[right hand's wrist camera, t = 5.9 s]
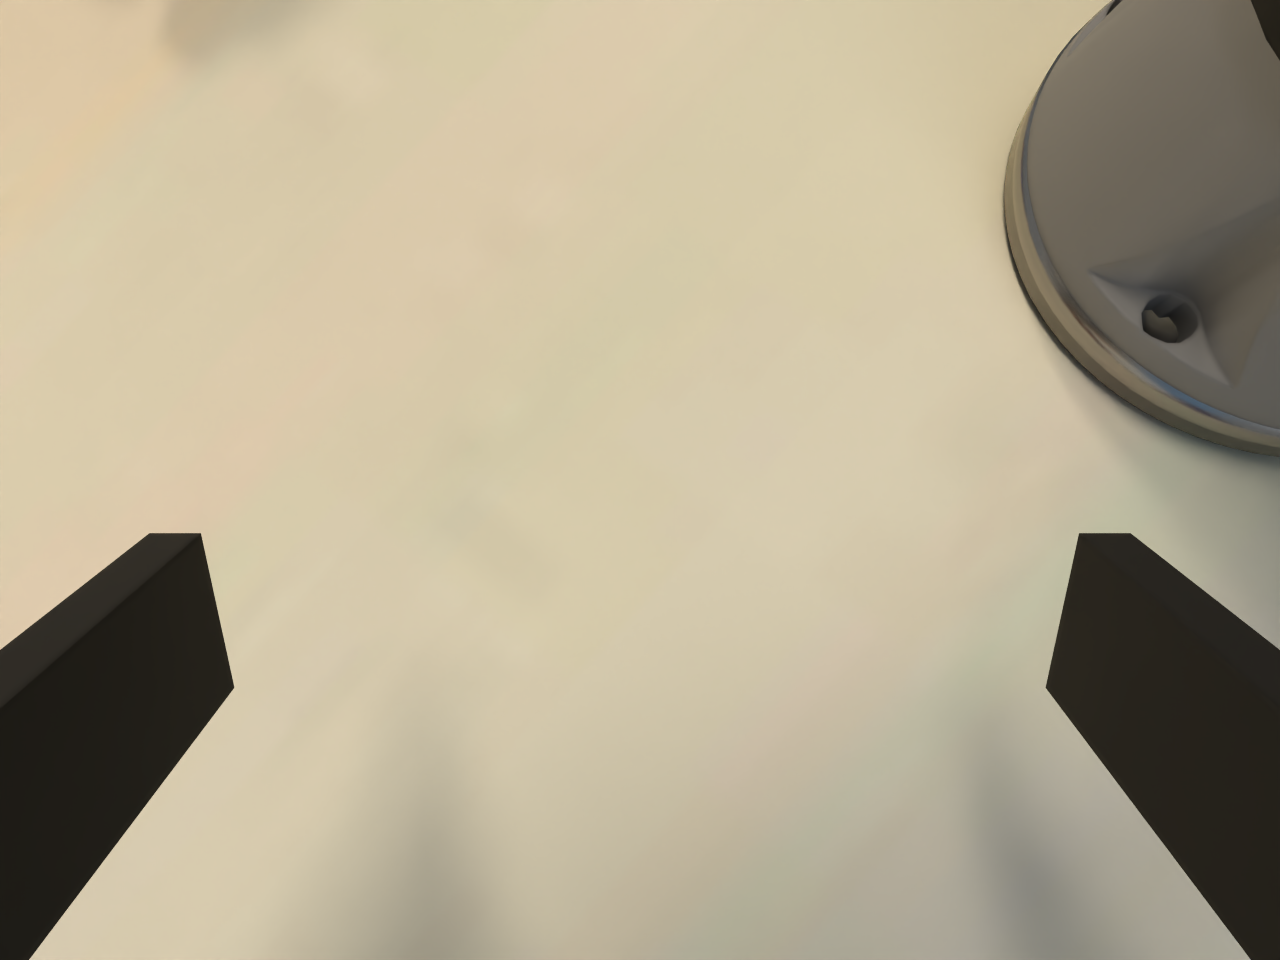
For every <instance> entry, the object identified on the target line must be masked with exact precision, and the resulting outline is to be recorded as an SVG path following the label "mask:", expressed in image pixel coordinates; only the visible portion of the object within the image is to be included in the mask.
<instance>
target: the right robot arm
mask: <svg viewBox="0 0 1280 960" xmlns="http://www.w3.org/2000/svg"><path fill="white" fill-rule="evenodd" d="M1004 199H1005V218H1006V225H1007V233H1008V237H1009V241H1010V246H1011V250H1012V254H1013V257H1014V260H1015V263H1016V265H1017V268H1018V271H1019V274H1020V276H1021V279H1022V281H1023V283H1024V285H1025V287H1026V289H1027V291H1028V293H1029V295H1030V298H1031V300H1032V301H1033V303H1034V305H1035V306H1036V308H1037V309H1038V311H1039V313H1040V314H1041V316H1042V318H1043V319H1044V321H1045V322H1046V324H1047V325H1048V326H1049V328H1050V329H1051V330H1052V332H1053V333H1054V334H1055V336H1056V337H1057V338H1058V339H1059V341H1060V342H1061V343H1062V344H1063V345H1064V346H1065V348H1066V349H1067V350H1068V351H1069V352H1070V353H1071V354H1072V355H1073V356H1074V357H1075V359H1076V360H1077V361H1078V362H1079V363H1080V364H1081V365H1083V366H1084V367H1085V368H1086V369H1087V370H1088V371H1089V372H1090V373H1091V374H1092V375H1093V376H1095V377H1096V378H1097V379H1098V380H1099V381H1100V382H1102V383H1103V384H1104V385H1106V386H1107V387H1108V388H1110V389H1111V390H1112V391H1113V392H1115V393H1116V394H1117V395H1119V396H1120V397H1121V398H1123V399H1125V400H1126V401H1128V402H1129V403H1131V404H1132V405H1134V406H1136V407H1137V408H1139V409H1140V410H1142V411H1143V412H1145V413H1147V414H1149V415H1151V416H1153V417H1155V418H1156V419H1158V420H1160V421H1162V422H1164V423H1166V424H1168V425H1170V426H1172V427H1174V428H1177V429H1179V430H1182V431H1184V432H1186V433H1189V434H1191V435H1193V436H1196V437H1199V438H1202V439H1205V440H1208V441H1211V442H1214V443H1217V444H1220V445H1223V446H1226V447H1231V448H1235V449H1239V450H1243V451H1247V452H1252V453H1257V454H1264V455H1271V456H1277V457H1280V0H1112V1H1111V2H1109V3H1108V4H1107V5H1106V6H1105V7H1103V8H1102V9H1101V10H1100V11H1099V12H1098V13H1097V14H1096V15H1095V16H1093V18H1092V19H1091V20H1089V21H1088V22H1087V23H1086V24H1085V25H1084V26H1083V27H1082V28H1081V29H1080V30H1079V31H1078V32H1077V33H1076V34H1075V35H1074V36H1073V38H1072V39H1071V40H1070V41H1069V43H1068V44H1067V45H1066V46H1065V48H1064V49H1063V50H1062V51H1061V53H1060V54H1059V55H1058V57H1057V58H1056V60H1055V62H1054V63H1053V65H1052V66H1051V68H1050V69H1049V71H1048V73H1047V74H1046V76H1045V78H1044V80H1043V82H1042V83H1041V85H1040V87H1039V89H1038V91H1037V92H1036V94H1035V96H1034V98H1033V99H1032V101H1031V103H1030V105H1029V107H1028V108H1027V110H1026V112H1025V114H1024V116H1023V119H1022V121H1021V123H1020V125H1019V127H1018V129H1017V132H1016V135H1015V138H1014V141H1013V144H1012V147H1011V150H1010V155H1009V159H1008V164H1007V169H1006V178H1005V189H1004ZM233 689H234V684H233V679H232V675H231V670H230V666H229V661H228V656H227V652H226V647H225V643H224V638H223V633H222V629H221V624H220V620H219V615H218V610H217V606H216V601H215V597H214V592H213V587H212V583H211V578H210V574H209V569H208V564H207V560H206V555H205V551H204V546H203V541H202V537H201V533H149V534H148V535H147V536H146V537H144V538H143V539H142V540H140V541H139V542H138V543H137V544H135V545H134V546H133V547H131V548H130V549H129V550H128V551H126V552H125V553H124V554H122V555H121V556H120V557H119V558H117V559H116V560H115V561H114V562H112V563H111V564H110V565H108V566H107V567H106V568H105V569H103V570H102V571H101V572H99V573H98V574H97V575H96V576H94V577H93V578H92V579H90V580H89V581H88V582H87V583H85V584H84V585H83V586H82V587H80V588H79V589H78V590H76V591H75V592H74V593H73V594H71V595H70V596H69V597H67V598H66V599H65V600H64V601H62V602H61V603H60V604H59V605H57V606H56V607H55V608H53V609H52V610H51V611H50V612H48V613H47V614H46V615H44V616H43V617H42V618H41V619H39V620H38V621H37V622H35V623H34V624H33V625H32V626H30V627H29V628H28V629H27V630H25V631H24V632H23V633H21V634H20V635H19V636H18V637H16V638H15V639H14V640H12V641H11V642H10V643H9V644H7V645H6V646H5V647H3V648H2V649H1V650H0V960H29V959H30V958H31V956H32V955H33V954H34V952H35V951H36V950H37V948H38V947H39V946H40V944H41V943H42V942H43V940H44V939H45V938H46V936H47V935H48V934H49V932H50V931H51V930H52V929H53V927H54V926H55V925H56V923H57V922H58V921H59V919H60V918H61V917H62V915H63V914H64V913H65V911H66V910H67V909H68V907H69V906H70V905H71V903H72V902H73V901H74V899H75V898H76V897H77V895H78V894H79V893H80V891H81V890H82V889H83V887H84V886H85V885H86V883H87V882H88V881H89V879H90V878H91V877H92V876H93V874H94V873H95V872H96V870H97V869H98V868H99V866H100V865H101V864H102V862H103V861H104V860H105V858H106V857H107V856H108V854H109V853H110V852H111V850H112V849H113V848H114V846H115V845H116V844H117V842H118V841H119V840H120V838H121V837H122V836H123V834H124V833H125V832H126V830H127V829H128V828H129V826H130V825H131V824H132V823H133V821H134V820H135V819H136V817H137V816H138V815H139V813H140V812H141V811H142V809H143V808H144V807H145V805H146V804H147V803H148V801H149V800H150V799H151V797H152V796H153V795H154V793H155V792H156V791H157V789H158V788H159V787H160V785H161V784H162V783H163V781H164V780H165V779H166V777H167V776H168V775H169V773H170V772H171V771H172V770H173V768H174V767H175V766H176V764H177V763H178V762H179V760H180V759H181V758H182V756H183V755H184V754H185V752H186V751H187V750H188V748H189V747H190V746H191V744H192V743H193V742H194V740H195V739H196V738H197V736H198V735H199V734H200V732H201V731H202V730H203V728H204V727H205V726H206V724H207V723H208V722H209V720H210V719H211V718H212V716H213V715H214V714H215V713H216V711H217V710H218V709H219V707H220V706H221V705H222V703H223V702H224V701H225V699H226V698H227V697H228V695H229V694H230V693H231V691H232V690H233ZM1046 689H1047V690H1048V691H1049V693H1050V694H1051V695H1052V697H1053V698H1054V699H1055V701H1056V702H1057V703H1058V705H1059V706H1060V707H1061V709H1062V710H1063V711H1064V713H1065V714H1066V715H1067V716H1068V718H1069V719H1070V720H1071V722H1072V723H1073V724H1074V726H1075V727H1076V728H1077V730H1078V731H1079V732H1080V734H1081V735H1082V736H1083V738H1084V739H1085V740H1086V742H1087V743H1088V744H1089V746H1090V747H1091V748H1092V750H1093V751H1094V752H1095V754H1096V755H1097V756H1098V758H1099V759H1100V760H1101V762H1102V763H1103V764H1104V766H1105V767H1106V768H1107V770H1108V771H1109V772H1110V773H1111V775H1112V776H1113V777H1114V779H1115V780H1116V781H1117V783H1118V784H1119V785H1120V787H1121V788H1122V789H1123V791H1124V792H1125V793H1126V795H1127V796H1128V797H1129V799H1130V800H1131V801H1132V803H1133V804H1134V805H1135V807H1136V808H1137V809H1138V811H1139V812H1140V813H1141V815H1142V816H1143V817H1144V819H1145V820H1146V821H1147V823H1148V824H1149V825H1150V826H1151V828H1152V829H1153V830H1154V832H1155V833H1156V834H1157V836H1158V837H1159V838H1160V840H1161V841H1162V842H1163V844H1164V845H1165V846H1166V848H1167V849H1168V850H1169V852H1170V853H1171V854H1172V856H1173V857H1174V858H1175V860H1176V861H1177V862H1178V864H1179V865H1180V866H1181V868H1182V869H1183V870H1184V872H1185V873H1186V874H1187V876H1188V877H1189V878H1190V879H1191V881H1192V882H1193V883H1194V885H1195V886H1196V887H1197V889H1198V890H1199V891H1200V893H1201V894H1202V895H1203V897H1204V898H1205V899H1206V901H1207V902H1208V903H1209V905H1210V906H1211V907H1212V909H1213V910H1214V911H1215V913H1216V914H1217V915H1218V917H1219V918H1220V919H1221V921H1222V922H1223V923H1224V925H1225V926H1226V927H1227V929H1228V930H1229V931H1230V932H1231V934H1232V935H1233V936H1234V938H1235V939H1236V940H1237V942H1238V943H1239V944H1240V946H1241V947H1242V948H1243V950H1244V951H1245V952H1246V954H1247V955H1248V956H1249V958H1250V959H1251V960H1280V650H1279V649H1278V648H1277V647H1275V646H1274V645H1273V644H1271V643H1270V642H1269V641H1268V640H1266V639H1265V638H1264V637H1262V636H1261V635H1260V634H1259V633H1257V632H1256V631H1255V630H1253V629H1252V628H1251V627H1250V626H1248V625H1247V624H1246V623H1245V622H1243V621H1242V620H1241V619H1239V618H1238V617H1237V616H1236V615H1234V614H1233V613H1232V612H1230V611H1229V610H1228V609H1227V608H1225V607H1224V606H1223V605H1221V604H1220V603H1219V602H1218V601H1216V600H1215V599H1214V598H1213V597H1211V596H1210V595H1209V594H1207V593H1206V592H1205V591H1204V590H1202V589H1201V588H1200V587H1198V586H1197V585H1196V584H1195V583H1193V582H1192V581H1191V580H1190V579H1188V578H1187V577H1186V576H1184V575H1183V574H1182V573H1181V572H1179V571H1178V570H1177V569H1175V568H1174V567H1173V566H1172V565H1170V564H1169V563H1168V562H1166V561H1165V560H1164V559H1163V558H1161V557H1160V556H1159V555H1158V554H1156V553H1155V552H1154V551H1152V550H1151V549H1150V548H1149V547H1147V546H1146V545H1145V544H1143V543H1142V542H1141V541H1140V540H1138V539H1137V538H1136V537H1134V536H1133V535H1132V534H1131V533H1079V537H1078V541H1077V546H1076V551H1075V555H1074V560H1073V564H1072V569H1071V574H1070V578H1069V583H1068V587H1067V592H1066V597H1065V601H1064V606H1063V610H1062V615H1061V620H1060V624H1059V629H1058V633H1057V638H1056V643H1055V647H1054V652H1053V656H1052V661H1051V666H1050V670H1049V675H1048V679H1047V684H1046Z"/></svg>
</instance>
